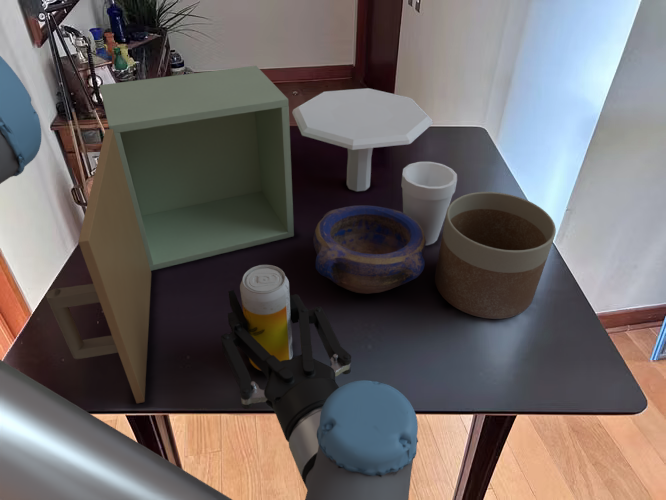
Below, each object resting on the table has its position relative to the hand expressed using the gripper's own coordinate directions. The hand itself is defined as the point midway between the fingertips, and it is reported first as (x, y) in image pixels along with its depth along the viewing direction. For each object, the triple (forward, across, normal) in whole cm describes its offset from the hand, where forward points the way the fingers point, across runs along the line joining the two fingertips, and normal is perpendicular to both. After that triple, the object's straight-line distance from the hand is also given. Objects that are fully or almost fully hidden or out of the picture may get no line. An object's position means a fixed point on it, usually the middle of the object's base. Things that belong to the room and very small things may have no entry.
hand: (256, 291), depth 71 cm
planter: (-4, +37, -9) cm, 38 cm away
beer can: (-5, 0, -9) cm, 10 cm away
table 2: (+33, +32, -9) cm, 47 cm away
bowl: (+6, +21, -9) cm, 23 cm away
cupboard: (+30, 0, -8) cm, 31 cm away
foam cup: (+12, +35, -9) cm, 38 cm away
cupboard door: (+8, -18, -8) cm, 22 cm away
